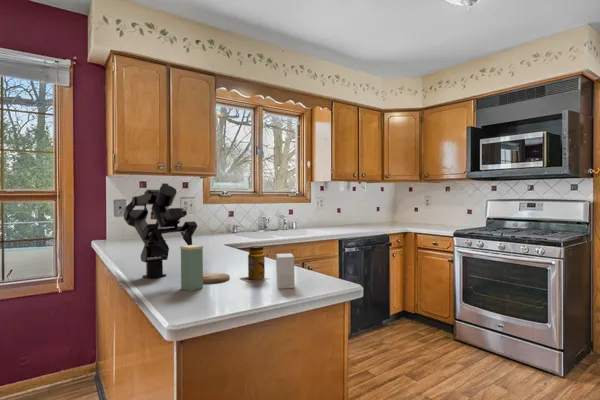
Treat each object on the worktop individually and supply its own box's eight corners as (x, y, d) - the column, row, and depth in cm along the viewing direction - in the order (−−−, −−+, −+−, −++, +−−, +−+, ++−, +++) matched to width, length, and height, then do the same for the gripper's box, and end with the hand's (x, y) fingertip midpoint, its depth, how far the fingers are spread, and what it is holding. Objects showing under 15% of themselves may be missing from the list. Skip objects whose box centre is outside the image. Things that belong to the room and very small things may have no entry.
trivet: (186, 280, 132) (186, 277, 132) (214, 274, 142) (214, 271, 142) (208, 285, 124) (208, 282, 124) (237, 278, 134) (236, 275, 134)
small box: (294, 288, 119) (294, 256, 119) (277, 289, 118) (277, 257, 118) (292, 282, 127) (292, 253, 127) (276, 283, 126) (276, 253, 126)
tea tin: (180, 288, 120) (180, 246, 120) (194, 285, 124) (193, 244, 124) (190, 291, 116) (189, 247, 116) (203, 287, 121) (203, 245, 120)
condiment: (269, 279, 132) (268, 246, 132) (248, 282, 128) (247, 248, 128) (259, 275, 138) (259, 244, 138) (239, 278, 134) (239, 246, 134)
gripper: (145, 200, 121) (161, 235, 113) (194, 199, 135) (211, 230, 127) (135, 222, 126) (150, 257, 119) (183, 220, 140) (199, 251, 133)
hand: (179, 248), depth 124 cm, fingers open, 9 cm apart
